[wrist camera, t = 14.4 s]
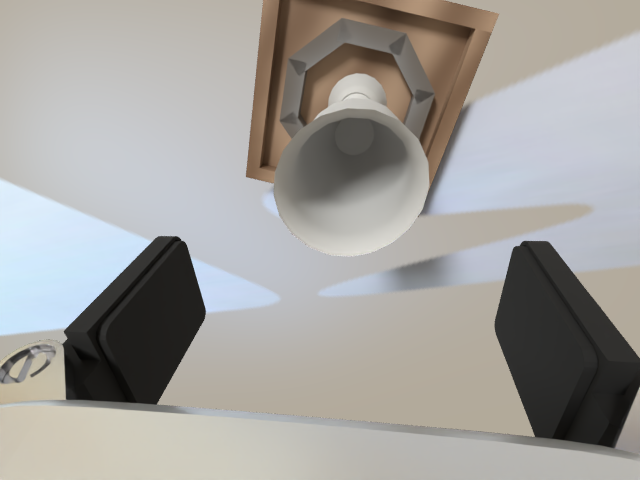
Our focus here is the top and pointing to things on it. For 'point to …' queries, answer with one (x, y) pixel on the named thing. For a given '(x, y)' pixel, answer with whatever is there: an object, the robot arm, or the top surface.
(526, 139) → the top surface
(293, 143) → the chalice
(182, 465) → the robot arm
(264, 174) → the holder tray
